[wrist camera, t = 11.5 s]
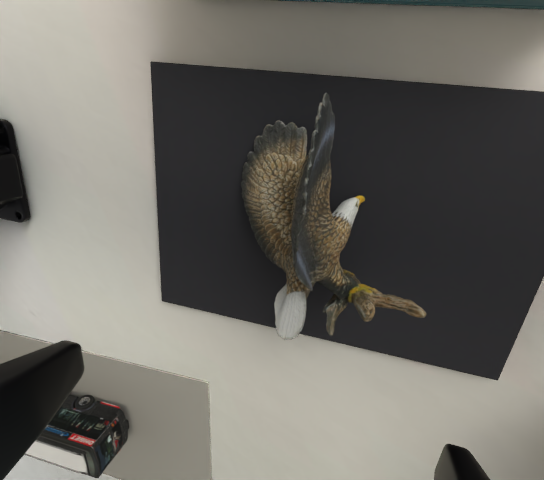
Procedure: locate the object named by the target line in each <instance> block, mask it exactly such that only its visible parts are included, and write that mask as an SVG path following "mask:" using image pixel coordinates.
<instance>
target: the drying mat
mask: <svg viewBox="0 0 544 480" xmlns="http://www.w3.org/2000/svg"><path fill="white" fill-rule="evenodd" d="M151 81H152V102H153V123H154V144H155V166H156V187H157V208H158V229H159V250H160V271H161V292H162V301H164V302H168V303H173V304H177V305H181V306H185V307H190V308H194V309H198V310H202V311H206V312H211V313H215V314H219V315H223V316H228V317H232V318H236V319H240V320H245V321H249V322H253V323H257V324H261V325H266V326H270V327H274V328H276V325H275V321H276V318H275V308H274V303H275V299H276V296H277V293H278V292H279V291H280V290H281V289H282V288H283V287H284V286H285V285H286V282H287V277H286V273H285V272H284V270H283V268H280V267H278V266H277V264H273V263H272V262H271V260H269V259H268V258H267V257H266V254H265V253H264V252H263V251H262V249H261V247H260V245H259V244H258V242H257V240H256V238H255V233H254V232H253V230H252V228H251V224H250V221H249V216H248V215H247V213H246V208H245V206H244V200H243V198H242V194H241V193H242V187H241V182H242V180H243V179H242V172H243V166H244V164H245V163H246V162H247V161H248V156H247V155H248V153H249V152H250V151H251V152H254V141H255V138H256V137H257V136H259V135H260V136H262V134H263V131H264V128H265V126H266V125H268V124H271V125H274V124H275V122H276V121H278V120H279V121H282V122H283V123H284V124H285V125H287V124H288V123H290V122H293V123H295V125H296V126H297V127H298V128H300V127H305V128H306V130H307V147H306V157H307V155H308V153H309V151H310V149H311V138H312V133H313V131H315V119H316V116H317V111H318V106H319V104H320V103H322V99H323V96H324V94H325V93H328V95H329V100H330V102H331V107H332V111H333V113H334V115H335V130H334V139H333V144H332V149H331V154H330V163H331V185H330V193H329V203H330V210H331V213H332V214H333V212H334V211H335V210H336V209H337V208H338V206H339V205H340V204H341V203H342V202H343V201H345V200H347V199H350V198H354V197H356V196H363V197H364V198H365V201H364V202H362V203H361V204H360V205H359V208H358V212H357V214H356V216H355V219H354V222H353V225H352V228H351V231H350V235H349V238H348V241H347V243H346V245H345V247H344V249H343V250H342V251H341V252H340V257H339V262H340V266H341V268H342V269H344V270H347V271H349V272H351V273H353V274H354V275H355V276H356V278H357V279H358V280H359V281H360V283H361V284H364V285H367V286H369V287H371V288H375V289H376V290H378V291H380V292H381V293H382V294H386V295H387V294H389V295H394V296H397V297H401V298H403V299H408V300H411V301H413V302H414V303H416V304H417V305H418V306H419V307H421V308H422V309H423V310H424V311H425V312H426V316H425V317H424V318H418V317H414V316H411V315H409V314H407V313H406V312H404V311H401V310H396V309H389V308H382V307H375V314H374V317H373V318H372V320H371V321H368V322H364V321H363V319H362V318H361V316H360V315H359V313H358V311H357V309H356V307H355V305H354V303H349V302H348V304H347V307H346V308H345V309H344V310H343V311H342V312H341V313H340V314H339V315H338V317H337V319H336V321H335V326H334V333H333V335H332V336H330V335H329V334H328V332H327V330H326V323H327V313H324V312H323V309H324V306H325V305H326V304H327V303H328V301H329V300H330V299H331V298H332V296H333V294H334V293H333V292H330V290H329V289H327V288H326V287H325V286H322V285H320V284H319V283H318V282H316V283H315V284H314V286H313V287H312V288H313V290H312V291H311V290H310V293H309V295H308V297H307V299H306V303H307V309H306V317H305V322H304V326H303V328H302V330H301V332H300V333H299V334H304V335H308V336H312V337H316V338H321V339H325V340H329V341H333V342H337V343H342V344H346V345H350V346H354V347H359V348H363V349H367V350H371V351H376V352H380V353H384V354H388V355H392V356H397V357H401V358H405V359H409V360H414V361H418V362H422V363H426V364H430V365H435V366H439V367H443V368H447V369H452V370H456V371H460V372H464V373H469V374H473V375H477V376H481V377H485V378H490V379H494V380H498V378H499V376H500V374H501V372H502V369H503V367H504V365H505V363H506V360H507V358H508V356H509V354H510V351H511V349H512V347H513V345H514V342H515V340H516V338H517V335H518V333H519V331H520V329H521V326H522V324H523V322H524V320H525V317H526V315H527V313H528V311H529V308H530V306H531V304H532V302H533V299H534V297H535V295H536V293H537V290H538V288H539V286H540V283H541V281H542V279H543V277H544V92H538V91H525V90H512V89H499V88H486V87H473V86H460V85H447V84H434V83H421V82H408V81H395V80H382V79H369V78H356V77H343V76H330V75H317V74H304V73H291V72H278V71H266V70H253V69H240V68H227V67H214V66H201V65H188V64H175V63H162V62H151Z"/></svg>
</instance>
